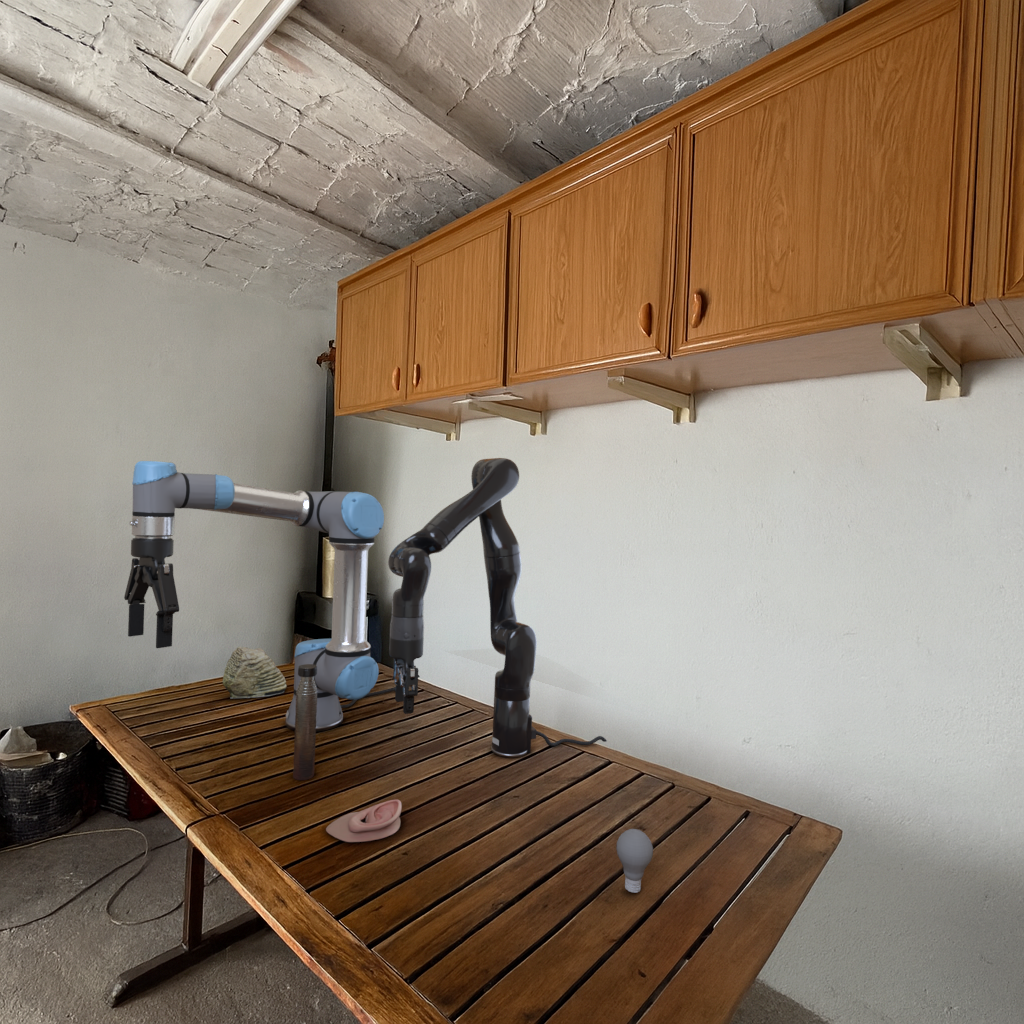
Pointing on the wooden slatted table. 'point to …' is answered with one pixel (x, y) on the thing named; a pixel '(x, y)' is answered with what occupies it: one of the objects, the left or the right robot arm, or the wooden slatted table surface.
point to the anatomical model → (368, 823)
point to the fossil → (252, 674)
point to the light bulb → (634, 857)
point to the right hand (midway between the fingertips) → (404, 706)
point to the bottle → (305, 729)
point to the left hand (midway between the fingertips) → (149, 641)
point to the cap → (307, 670)
